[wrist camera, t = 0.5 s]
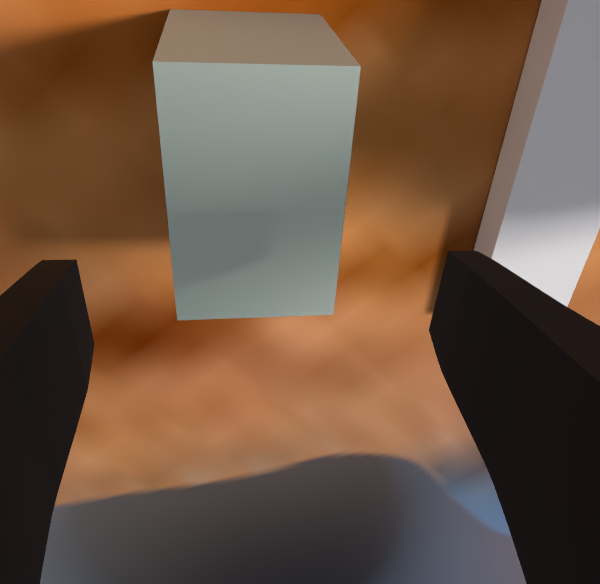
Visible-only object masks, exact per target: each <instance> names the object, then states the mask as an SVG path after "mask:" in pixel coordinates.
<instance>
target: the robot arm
mask: <svg viewBox="0 0 600 584" xmlns="http://www.w3.org/2000/svg"><path fill="white" fill-rule="evenodd" d="M429 331H430V335H431V338H432V342H433V345H434V349H435V352H436V355H437V359H438V362H439V365H440V368H441V371H442V373H443V375H444V378H445V380H446V382H447V384H448V386H449V389H450V391H451V393H452V395H453V397H454V399H455V401H456V404H457V406H458V408H459V410H460V412H461V414H462V416H463V418H464V420H465V422H466V425H467V427H468V429H469V431H470V433H471V435H472V437H473V439H474V441H475V443H476V445H477V448H478V450H479V452H480V454H481V456H482V458H483V460H484V462H485V465H486V467H487V469H488V472H489V474H490V476H491V479H492V481H493V484H494V486H495V489H496V492H497V495H498V498H499V501H500V504H501V506H502V509H503V512H504V515H505V518H506V521H507V524H508V527H509V530H510V533H511V536H512V539H513V542H514V545H515V548H516V551H517V555H518V558H519V561H520V564H521V567H522V570H523V573H524V576H525V580H526V583H527V584H600V326H599V325H597V324H595V323H593V322H592V321H590V320H588V319H586V318H585V317H583V316H581V315H580V314H578V313H576V312H575V311H573V310H571V309H570V308H568V307H566V306H565V305H563V304H562V303H560V302H558V301H557V300H555V299H554V298H552V297H551V296H549V295H547V294H546V293H544V292H543V291H541V290H540V289H538V288H537V287H535V286H533V285H532V284H530V283H529V282H527V281H526V280H524V279H523V278H521V277H520V276H518V275H517V274H515V273H513V272H512V271H510V270H509V269H507V268H506V267H504V266H502V265H501V264H499V263H498V262H496V261H494V260H493V259H491V258H489V257H488V256H486V255H484V254H482V253H480V252H478V251H448V254H447V258H446V262H445V266H444V270H443V274H442V278H441V282H440V287H439V291H438V295H437V299H436V303H435V307H434V311H433V316H432V320H431V324H430V328H429ZM93 349H94V340H93V336H92V331H91V326H90V321H89V317H88V312H87V307H86V303H85V298H84V293H83V289H82V284H81V279H80V274H79V270H78V265H77V260H42V261H41V262H39V263H38V264H37V265H35V266H34V267H33V268H32V269H31V270H29V271H28V272H27V273H26V274H25V275H24V276H22V277H21V278H20V279H19V280H18V281H17V282H16V283H14V284H13V285H12V286H11V287H10V288H9V289H8V290H6V291H5V292H4V293H3V294H2V295H1V296H0V584H40V579H41V573H42V566H43V561H44V555H45V550H46V544H47V539H48V533H49V528H50V522H51V516H52V513H53V509H54V505H55V501H56V497H57V493H58V489H59V486H60V483H61V479H62V476H63V472H64V469H65V466H66V462H67V459H68V456H69V452H70V449H71V445H72V442H73V439H74V435H75V432H76V428H77V425H78V422H79V418H80V415H81V411H82V408H83V404H84V401H85V397H86V393H87V390H88V384H89V377H90V371H91V364H92V356H93Z"/></svg>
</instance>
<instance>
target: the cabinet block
mask: <svg viewBox="0 0 600 584" xmlns="http://www.w3.org/2000/svg"><path fill="white" fill-rule="evenodd" d="M360 70H361V66H360V65H359V63H358V62H357V61H356V59H355V58H354V57H353V56H352V54H351V53H350V52H349V50H348V49H347V48H346V47H345V45H344V44H343V43H342V42H341V40H340V39H339V38H338V36H337V35H336V34H335V33H334V31H333V30H332V29H331V27H330V26H329V25H328V24H327V22H326V21H325V20H324V18H323V17H322V16H321V15H320V14H293V13H264V12H235V11H206V10H177V9H170V11H169V14H168V17H167V20H166V23H165V26H164V29H163V32H162V35H161V38H160V41H159V44H158V47H157V50H156V53H155V56H154V59H153V72H154V83H155V93H156V104H157V114H158V124H159V135H160V145H161V156H162V166H163V176H164V187H165V197H166V208H167V218H168V228H169V239H170V249H171V259H172V270H173V280H174V291H175V301H176V311H177V320H198V319H226V318H254V317H282V316H311V315H333V313H334V304H335V295H336V286H337V277H338V268H339V259H340V250H341V241H342V232H343V223H344V214H345V205H346V196H347V187H348V178H349V169H350V160H351V151H352V142H353V133H354V124H355V115H356V106H357V97H358V88H359V79H360Z"/></svg>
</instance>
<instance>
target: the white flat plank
mask: <svg viewBox="0 0 600 584" xmlns="http://www.w3.org/2000/svg"><path fill="white" fill-rule="evenodd" d="M599 229H600V0H542V1H541V5H540V8H539V12H538V16H537V19H536V23H535V27H534V31H533V34H532V38H531V42H530V45H529V49H528V53H527V56H526V60H525V64H524V67H523V71H522V75H521V78H520V82H519V86H518V89H517V93H516V97H515V100H514V104H513V108H512V111H511V115H510V119H509V122H508V126H507V130H506V133H505V137H504V141H503V144H502V148H501V152H500V155H499V159H498V163H497V166H496V170H495V174H494V177H493V181H492V185H491V188H490V192H489V196H488V199H487V203H486V207H485V210H484V214H483V218H482V221H481V225H480V229H479V232H478V236H477V240H476V243H475V247H474V251H478V252H480V253H482V254H484V255H486V256H488V257H489V258H491V259H493V260H494V261H496V262H498V263H499V264H501V265H502V266H504V267H506V268H507V269H509V270H510V271H512V272H513V273H515V274H517V275H518V276H520V277H521V278H523V279H524V280H526V281H527V282H529V283H530V284H532V285H533V286H535V287H537V288H538V289H540V290H541V291H543V292H544V293H546V294H547V295H549V296H551V297H552V298H554V299H555V300H557V301H558V302H560V303H562V304H563V305H565V306H566V307H567V306H568V304H569V301H570V299H571V296H572V294H573V291H574V289H575V287H576V284H577V282H578V279H579V277H580V275H581V272H582V270H583V267H584V265H585V263H586V260H587V258H588V255H589V253H590V250H591V248H592V246H593V243H594V241H595V238H596V236H597V234H598V231H599Z"/></svg>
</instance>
